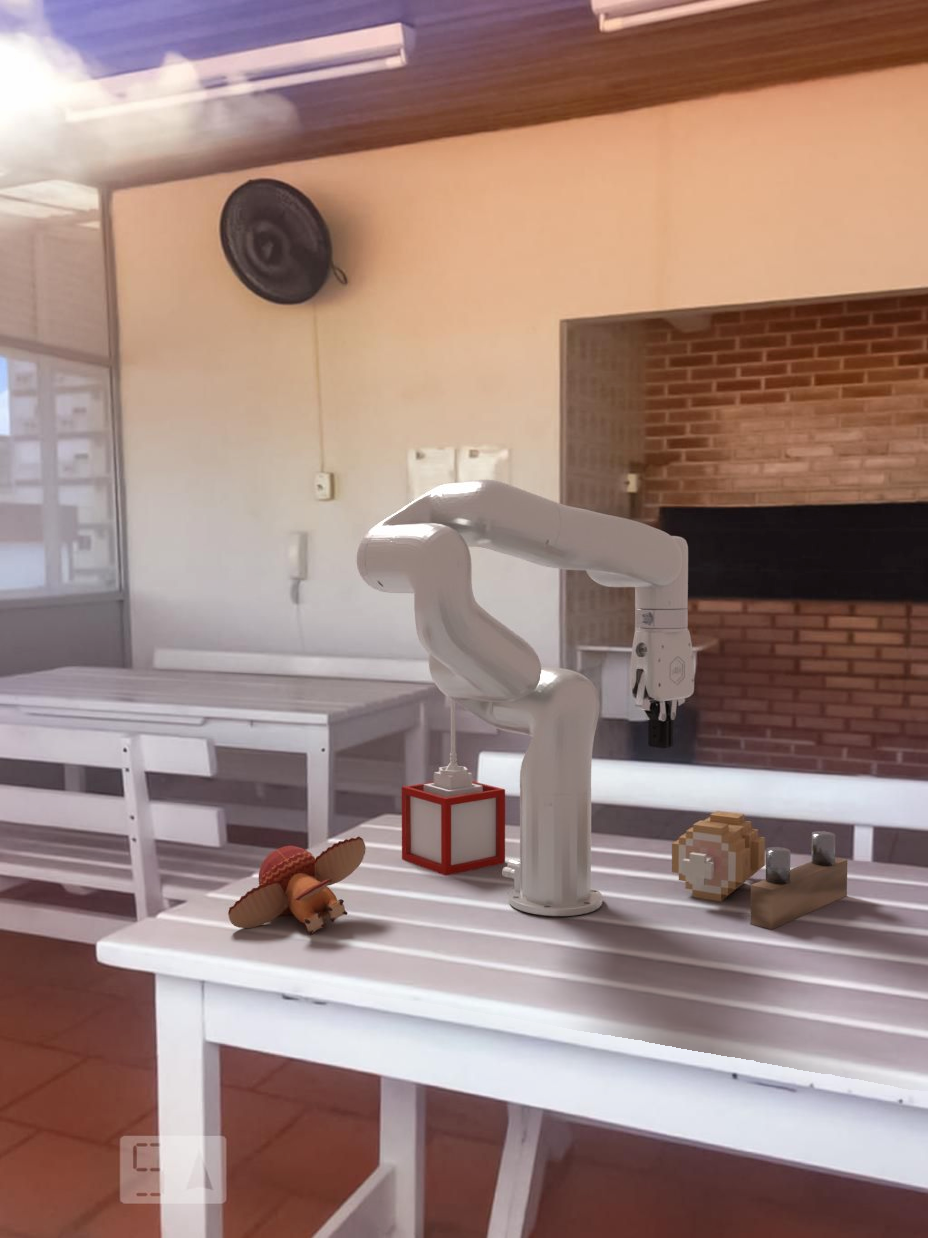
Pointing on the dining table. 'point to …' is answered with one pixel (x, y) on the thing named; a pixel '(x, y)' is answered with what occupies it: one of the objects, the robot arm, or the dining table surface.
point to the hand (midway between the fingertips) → (660, 746)
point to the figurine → (299, 885)
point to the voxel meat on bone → (718, 855)
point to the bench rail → (798, 883)
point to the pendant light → (453, 820)
